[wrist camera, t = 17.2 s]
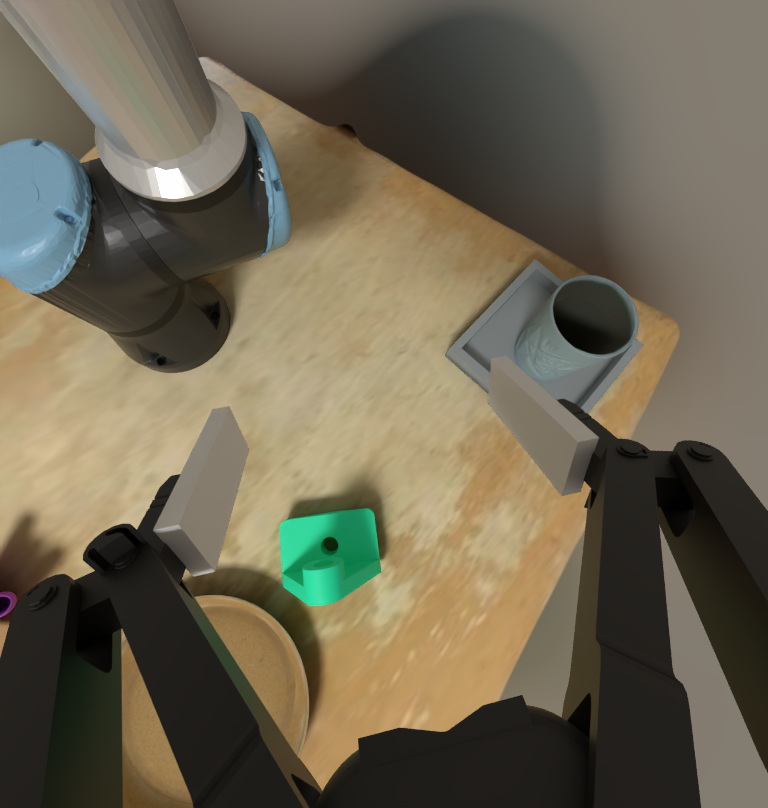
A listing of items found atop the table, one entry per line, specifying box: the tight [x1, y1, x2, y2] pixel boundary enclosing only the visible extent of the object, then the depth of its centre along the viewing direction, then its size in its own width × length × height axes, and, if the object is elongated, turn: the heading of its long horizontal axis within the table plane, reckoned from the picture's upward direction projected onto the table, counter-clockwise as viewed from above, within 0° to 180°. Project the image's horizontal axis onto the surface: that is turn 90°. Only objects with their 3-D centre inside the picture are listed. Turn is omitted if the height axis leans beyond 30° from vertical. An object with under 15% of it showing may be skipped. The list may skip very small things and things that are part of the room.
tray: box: [445, 259, 643, 414], centre depth 47 cm, size 20×20×3 cm
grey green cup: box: [514, 275, 639, 381], centre depth 42 cm, size 10×10×12 cm
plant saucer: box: [121, 595, 309, 808], centre depth 37 cm, size 24×24×3 cm
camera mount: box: [280, 508, 381, 606], centre depth 38 cm, size 12×8×10 cm, turn 97°
